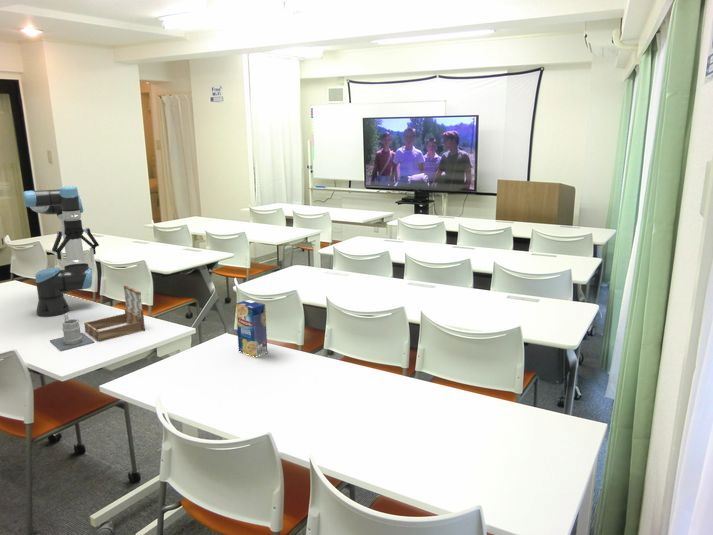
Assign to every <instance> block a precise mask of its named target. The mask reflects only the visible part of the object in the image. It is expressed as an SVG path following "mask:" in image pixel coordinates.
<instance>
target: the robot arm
mask: <svg viewBox="0 0 713 535" xmlns="http://www.w3.org/2000/svg"><path fill="white" fill-rule="evenodd" d="M23 201H24V206H25V207H27V208H30V209H31V211H33V212H35V213H37V214H41V215H56V218H57V219H58V220H60V226H61V231H60V230H58V231H57V234H56V238H55V240H54V243H53V246H52V247H51V248H52V249H51V252H53V253H56V255H57V259H58V260H59V261H60V266H61V267H64V269H61V268H60V267H49V268H45V269H42V270H39V271H37V272H36V273H35V283H36V284H35V285H36V291H37V297H38V302H37V306H36V310H35V312H36V315H37V316H39V317H55V316H59V315H64V314H67V313H68V312H69V311H70V306H69V304H68V302H67V300H66V298H65V297H64V296H65V295H64V293H65V292H72V291H81V290H82V291H83V290H87V289H90V288H91V287H92V285H93V268H92V266H90V265H89V263H88V262H86V260H85V255H84V254H85V253H84V248H83V242H85V243H86V244H87V245H88V246H89V254H90V255H89V256H90V261H91V262H93V263H95V255H96V253H97V252H96V249H97V247H99V246H100V244H99V242H98V241H97V240H96V238H95V237H94V236H93V234H92V232H91V228H88V227H85V228H83V223H82V219H81V218H82V213H84V207H83V202H82V199H81V197H80V194H79V192H78V187H77V186H74V185H72V186H71V185H69V186H67V185H66V186H60V187H59V189H40V190H25V191H23ZM84 233H85V234H86V236H88V237H89V239H90V240H88V238H86V237H85V236H84V235H83V234H84ZM62 239H63V241H62V242H61V240H62ZM91 241H92V242H91ZM60 242H61V243H60ZM63 250H64V251H65V258H66V264H65V261H64V253H63Z"/></svg>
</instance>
